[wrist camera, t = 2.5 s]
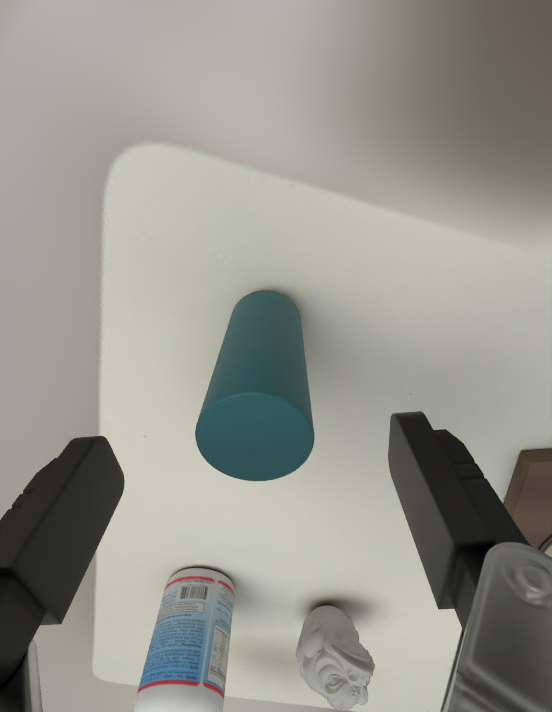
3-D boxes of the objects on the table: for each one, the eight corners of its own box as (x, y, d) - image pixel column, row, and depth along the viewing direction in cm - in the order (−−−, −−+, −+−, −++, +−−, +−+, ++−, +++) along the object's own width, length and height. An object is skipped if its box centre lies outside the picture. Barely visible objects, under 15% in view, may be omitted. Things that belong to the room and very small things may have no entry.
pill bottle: (157, 589, 31) (101, 785, 21) (183, 557, 29) (132, 763, 19) (218, 607, 33) (191, 798, 23) (247, 577, 30) (231, 780, 20)
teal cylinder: (227, 287, 17) (181, 398, 9) (297, 279, 17) (310, 387, 9) (239, 347, 19) (208, 485, 11) (302, 341, 18) (317, 478, 11)
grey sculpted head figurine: (377, 601, 32) (400, 706, 26) (329, 630, 35) (340, 730, 29) (325, 580, 30) (337, 687, 24) (280, 612, 33) (280, 714, 27)
